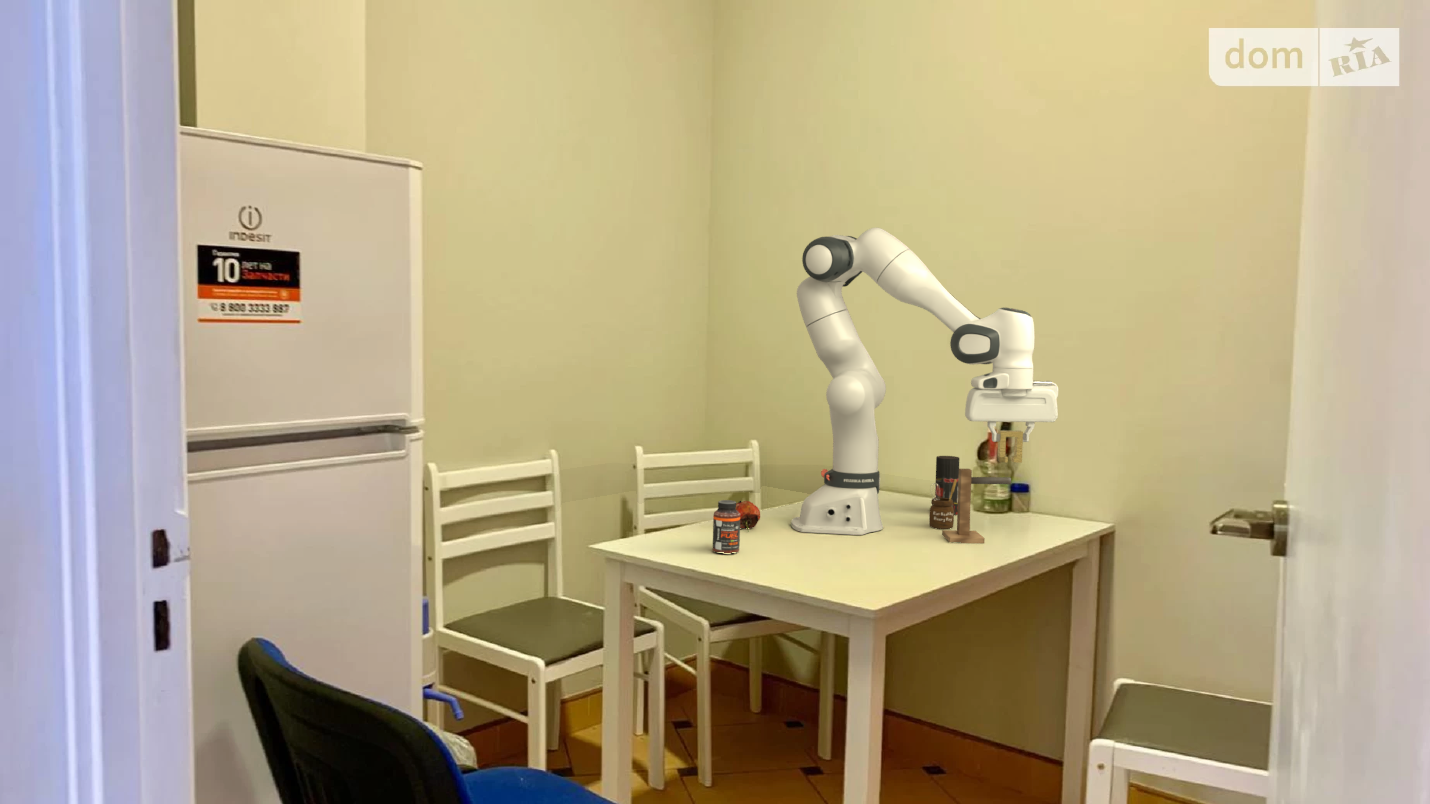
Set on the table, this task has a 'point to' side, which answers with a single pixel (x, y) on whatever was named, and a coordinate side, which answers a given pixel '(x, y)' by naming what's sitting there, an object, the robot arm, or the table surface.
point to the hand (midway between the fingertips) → (1010, 441)
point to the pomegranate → (748, 514)
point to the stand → (968, 507)
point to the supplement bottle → (726, 527)
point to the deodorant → (947, 478)
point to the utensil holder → (942, 511)
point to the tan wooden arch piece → (1017, 447)
